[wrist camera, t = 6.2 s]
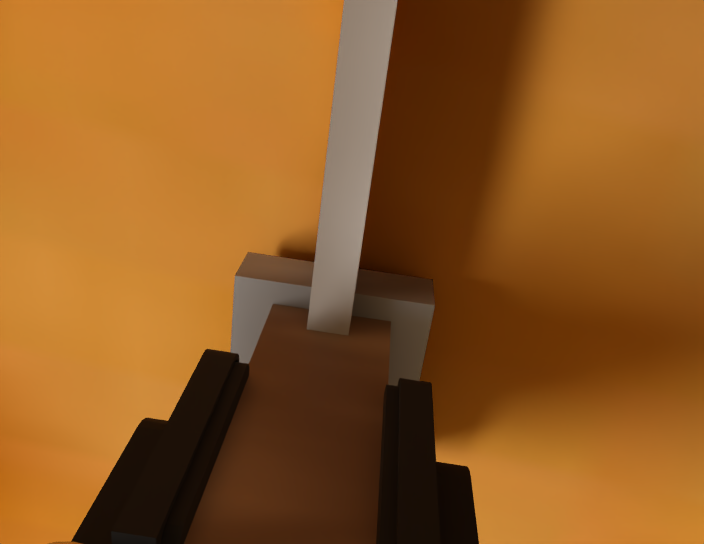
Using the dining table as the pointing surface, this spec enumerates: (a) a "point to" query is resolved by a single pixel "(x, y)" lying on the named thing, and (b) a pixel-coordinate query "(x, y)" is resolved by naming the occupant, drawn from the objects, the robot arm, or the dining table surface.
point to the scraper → (320, 343)
